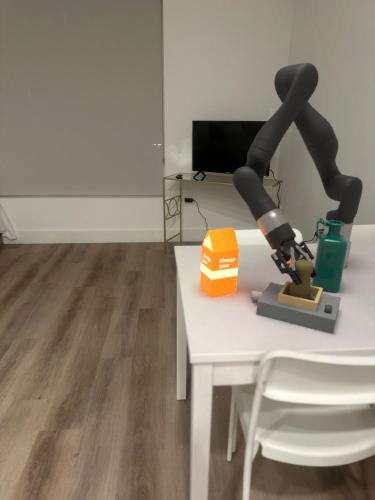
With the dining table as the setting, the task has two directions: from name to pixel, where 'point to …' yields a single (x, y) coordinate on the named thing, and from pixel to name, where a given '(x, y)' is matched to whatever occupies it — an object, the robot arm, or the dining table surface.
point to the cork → (305, 288)
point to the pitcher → (330, 256)
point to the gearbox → (298, 307)
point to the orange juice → (219, 263)
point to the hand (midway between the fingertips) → (307, 280)
